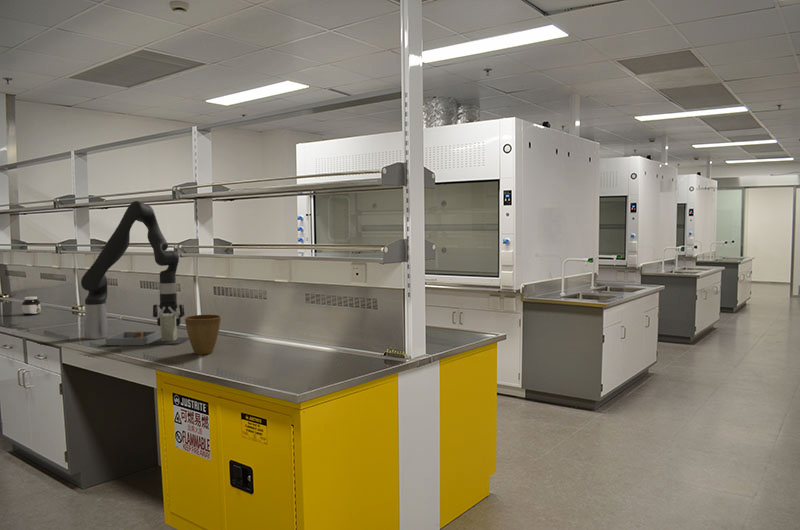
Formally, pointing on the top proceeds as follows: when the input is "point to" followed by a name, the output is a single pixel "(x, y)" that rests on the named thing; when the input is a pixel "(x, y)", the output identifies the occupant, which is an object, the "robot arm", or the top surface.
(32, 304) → the spread jar
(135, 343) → the parts bin
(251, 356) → the top surface
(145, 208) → the robot arm
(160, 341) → the place mat
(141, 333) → the walnut block
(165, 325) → the skincare box
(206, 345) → the plant pot
